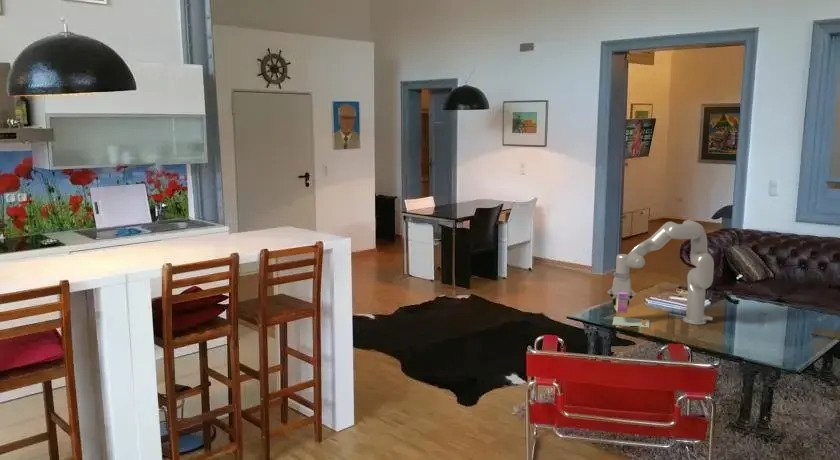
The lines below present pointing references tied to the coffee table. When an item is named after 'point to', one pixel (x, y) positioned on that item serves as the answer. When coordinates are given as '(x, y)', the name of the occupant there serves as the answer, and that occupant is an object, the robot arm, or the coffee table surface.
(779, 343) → the coffee table surface
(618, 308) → the box
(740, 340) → the coffee table surface
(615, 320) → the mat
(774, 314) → the coffee table surface
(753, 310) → the coffee table surface
